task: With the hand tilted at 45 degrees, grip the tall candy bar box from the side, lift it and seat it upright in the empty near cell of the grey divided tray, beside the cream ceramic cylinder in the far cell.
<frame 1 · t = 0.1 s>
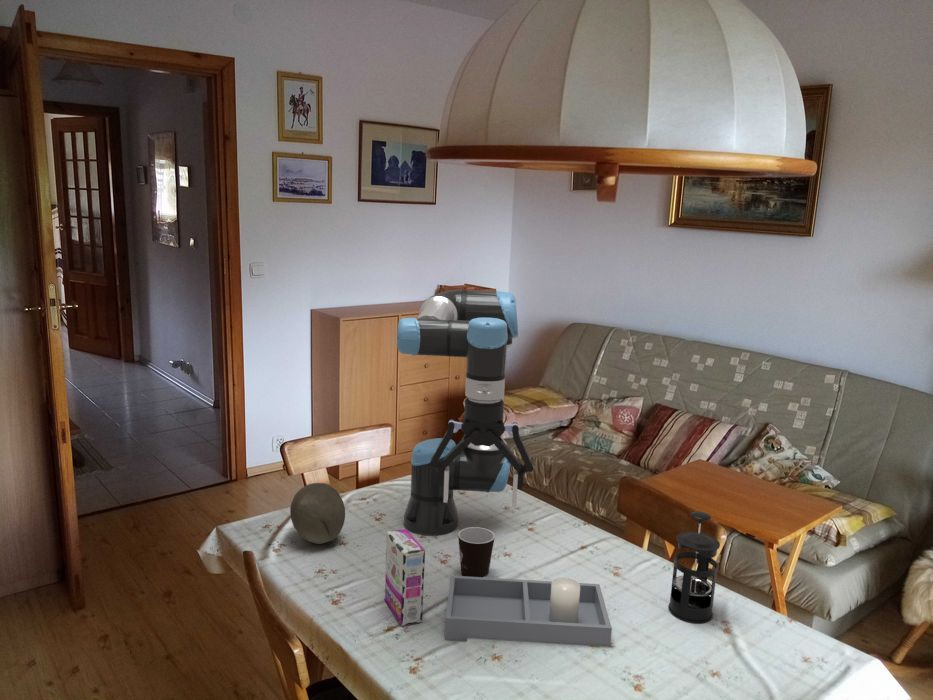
hand: (479, 501, 141), 28 cm above the table, tool pointing down, fingers open, 13 cm apart
french press: (691, 611, 157), on the table
grey divided tray: (525, 621, 150), on the table
candy bar box: (403, 612, 152), on the table
coffee mug: (475, 572, 170), on the table
cream cylinder: (563, 619, 150), point 1 cm above the table, touching grey divided tray
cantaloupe: (317, 541, 182), on the table
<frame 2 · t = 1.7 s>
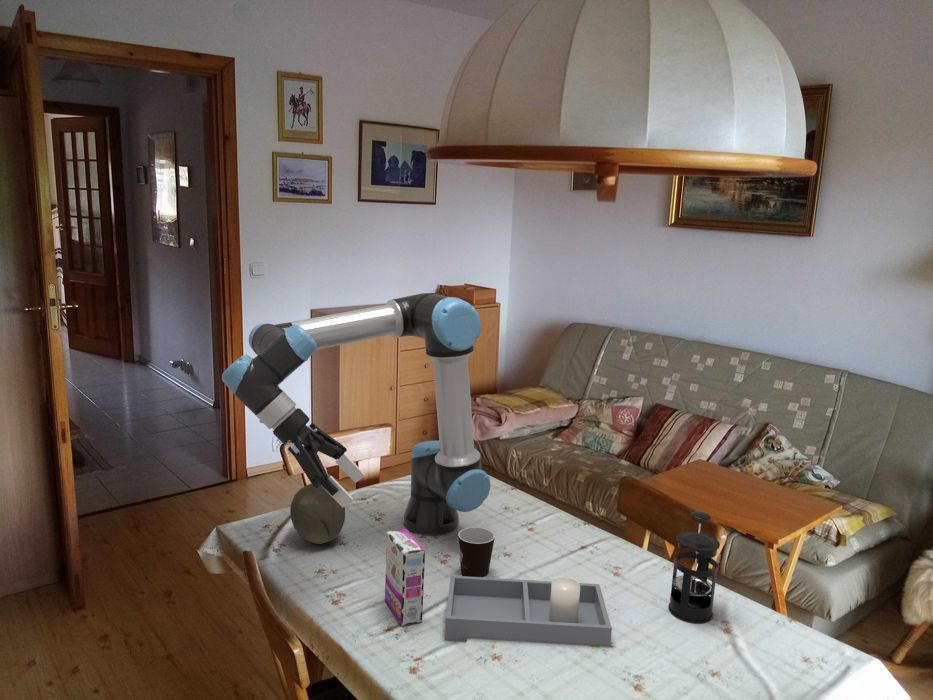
hand: (354, 490, 151), 25 cm above the table, tool tilted 45°, fingers open, 13 cm apart
nothing on the table moved.
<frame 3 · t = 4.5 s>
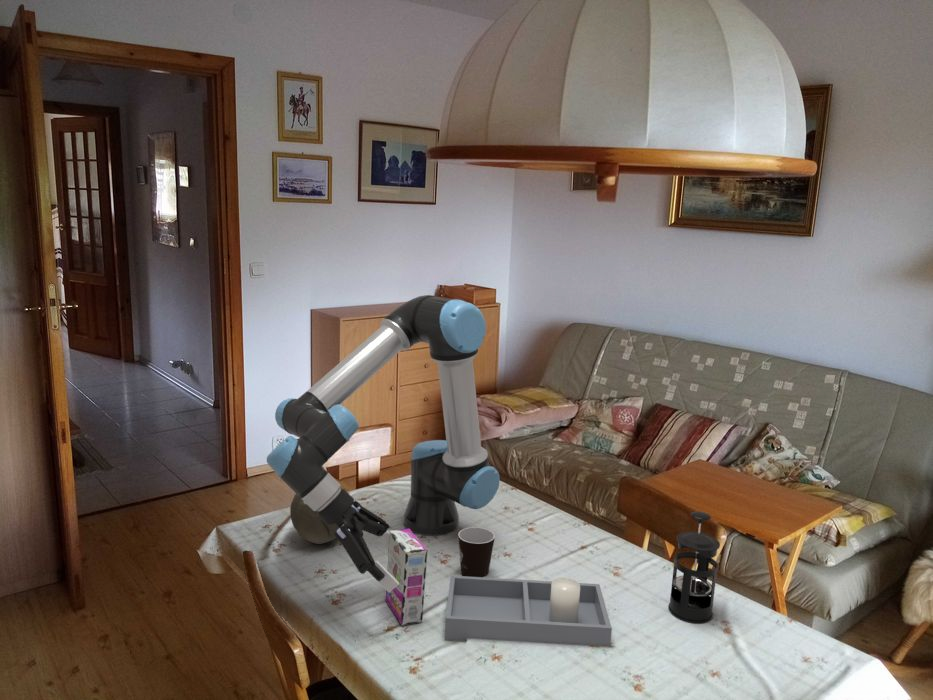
hand: (399, 571, 150), 9 cm above the table, tool tilted 45°, fingers open, 13 cm apart
nothing on the table moved.
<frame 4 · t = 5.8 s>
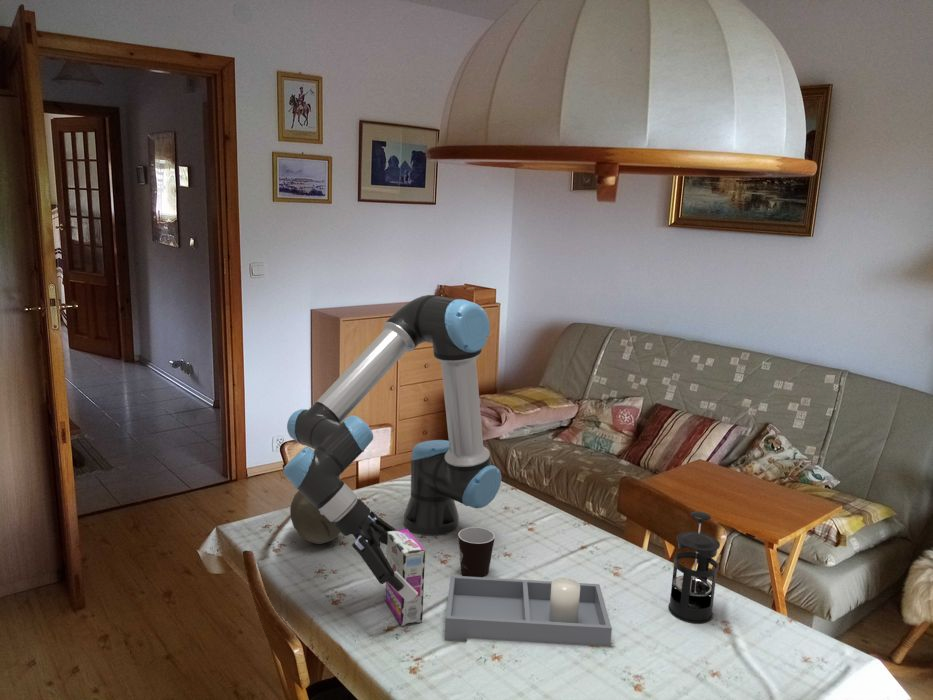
hand: (416, 582, 150), 7 cm above the table, tool tilted 45°, fingers closed on candy bar box, 12 cm apart
candy bar box: (403, 612, 152), on the table, touching gripper
everything else where it was.
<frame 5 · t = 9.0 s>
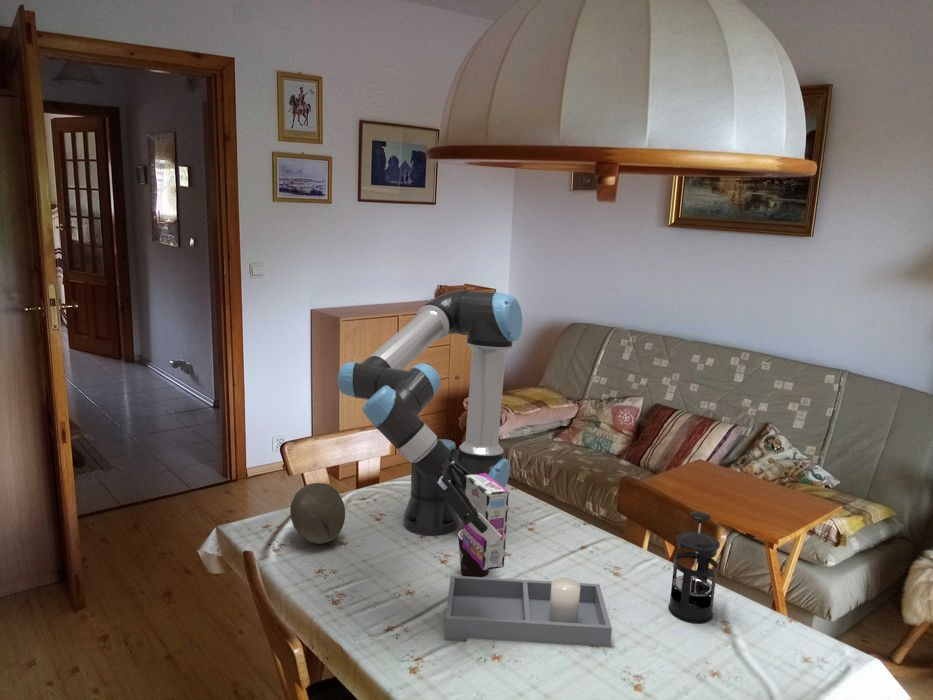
hand: (497, 526, 146), 21 cm above the table, tool tilted 45°, fingers closed on candy bar box, 12 cm apart
candy bar box: (482, 557, 147), point 14 cm above the table, touching gripper
everything else where it was.
when the fingers open (9 cm above the table, at t = 12.1 s): candy bar box drops 2 cm, resting on grey divided tray.
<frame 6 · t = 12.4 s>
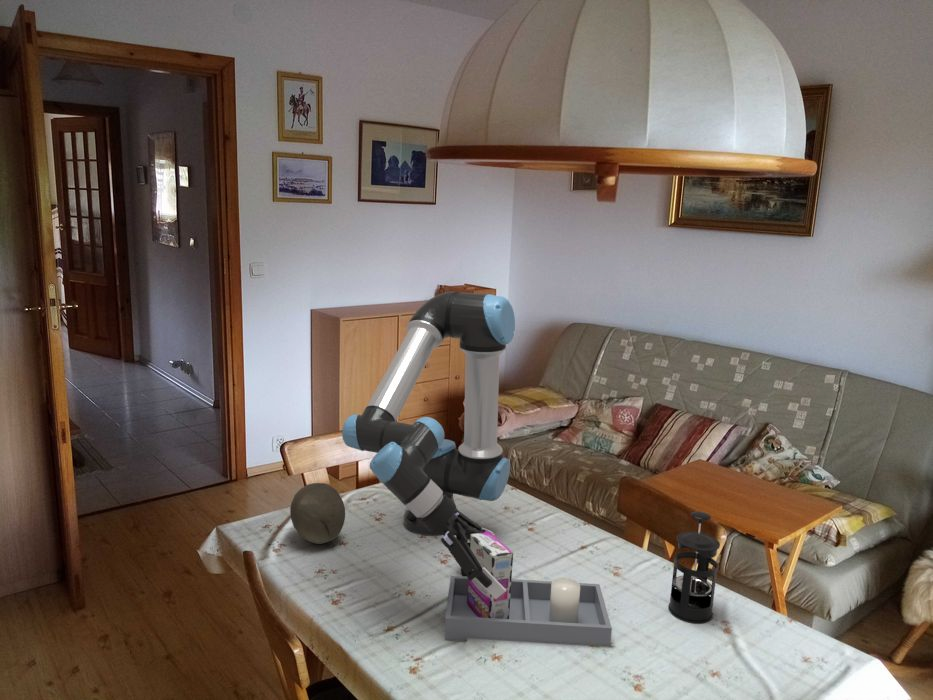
hand: (500, 577, 148), 10 cm above the table, tool tilted 45°, fingers open, 13 cm apart
candy bar box: (487, 615, 151), point 1 cm above the table, touching grey divided tray
everything else where it was.
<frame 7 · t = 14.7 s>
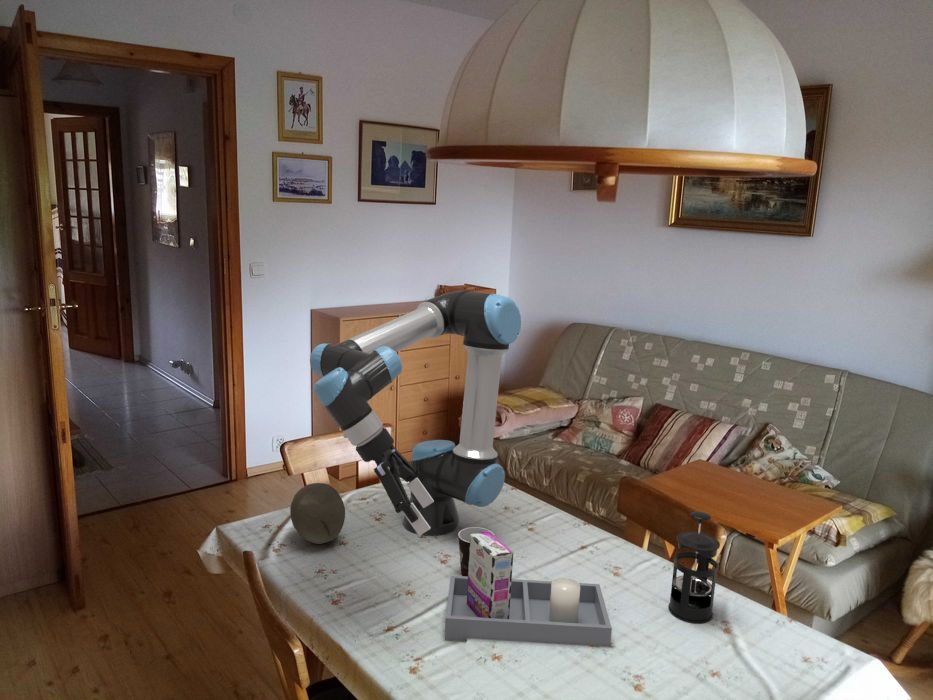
hand: (427, 517, 150), 21 cm above the table, tool tilted 35°, fingers open, 13 cm apart
nothing on the table moved.
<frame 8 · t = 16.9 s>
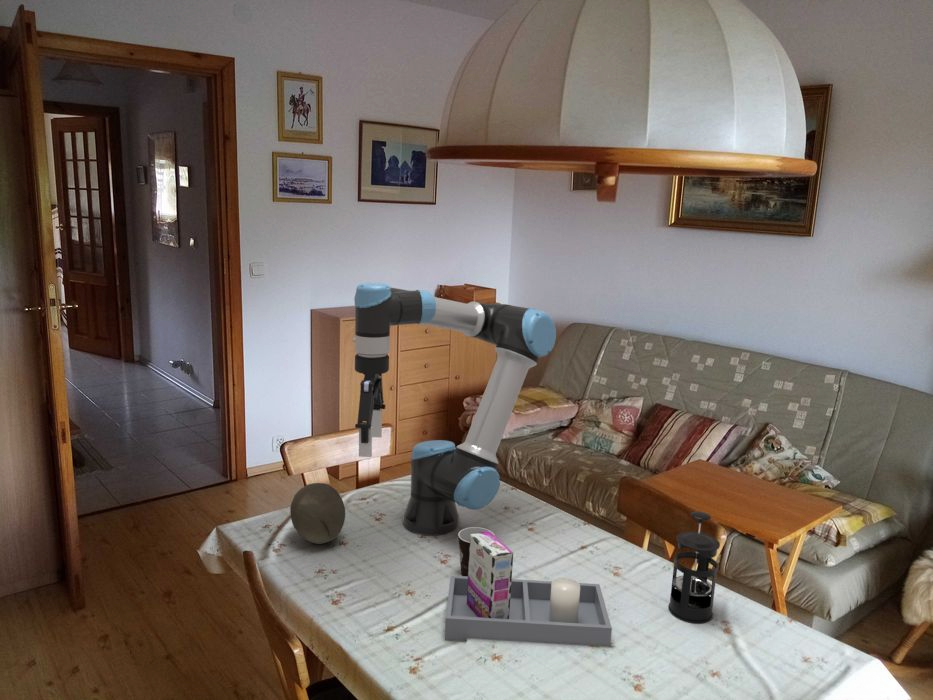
hand: (370, 446, 160), 32 cm above the table, tool pointing down, fingers open, 13 cm apart
nothing on the table moved.
at the end: candy bar box inside the target area on the grey divided tray (0.4 cm from its centre), point 0.6 cm above the grey divided tray's base; candy bar box tilted 0°; the gripper is holding nothing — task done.
